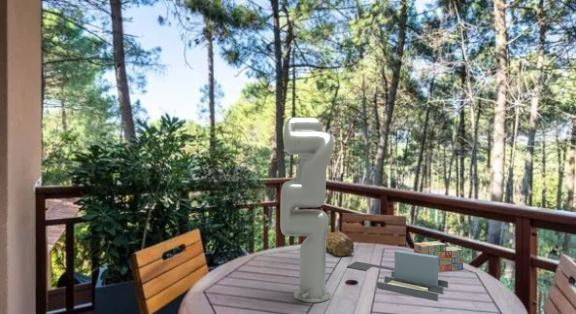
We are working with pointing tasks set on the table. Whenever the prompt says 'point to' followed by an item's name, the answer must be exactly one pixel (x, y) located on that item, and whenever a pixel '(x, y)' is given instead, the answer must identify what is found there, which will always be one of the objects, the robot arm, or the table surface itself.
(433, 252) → the stack of blocks
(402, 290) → the rack
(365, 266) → the mat
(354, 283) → the table surface
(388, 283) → the offcut upper
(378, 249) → the table surface
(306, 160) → the robot arm
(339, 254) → the petrified wood
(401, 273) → the panel
